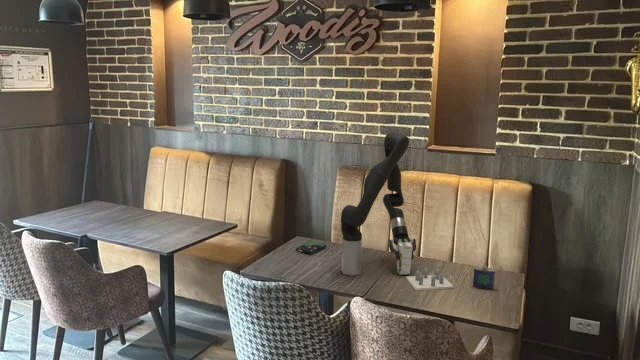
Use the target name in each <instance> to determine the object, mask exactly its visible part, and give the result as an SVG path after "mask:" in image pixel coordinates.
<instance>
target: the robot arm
mask: <svg viewBox="0 0 640 360" xmlns="http://www.w3.org/2000/svg"><path fill="white" fill-rule="evenodd" d="M383 141H384V142H383V148H384V156H385V158H384V159H383V160H382V161H380V162H378V163H376V164H375V165H374V166H373V167H372V168H371V169H370V171H369V172H368V174H367V175H366V177H365V178H364V183H363V192H362V196H361V199H360V201H359V203H358V204H357V205H356V206H354V205H353V204H347V205H346V206H344V207H343V209H342V211H341V213H340V226H341V227H340V229H341V234H342V251H341V257H340V259H341V263H340V264H341V265H340V266H341V268H340V271H341V273H342V274H343V275H345V276H351V277H352V276H358V275H359V276H360V274H361V273H362V250H363V249H362V247H363V233H362V232H361V231H360V229H359V227H361V226H363V225H364V223H365V222H366V220H367V218H368V216H369V214H370V212H371V209H372V207H373V205H374V203H375V201H376V199H377V198H378V196H379V194H380V192H381V190H382V189H383V188H384V186H385V184H386V188H387V190H388V191H390V192H395V193H386V194H384V195H383V197H382V203H383V205H384V207H385V209H386V211H387V213H388V215H389V221H390V230H391V234H392V239H388V241H387V245H388V247H389V251H390V253H393V254H394V256H395V259H396V261H397V260H400V256H399V252H398V249H399V244H398V243H400V242H407V243H410V244H411V246H412V256H411V261H413V260H414V257H415V255H414V253H415V252H416V250H417V242H416V241H417V239H416V238H413V239H412V238H410V237H409V232H408V227H407V223H406V220H405V216H404V211H403V210H402V209H401V208H400V207H402V206H403V205H404V203H405V198H404V195H403V192H402V171H401V169H400V167H399V164H398V163H399V162H400V160H401V159H402V157H403V156H404V155H405V153H406V151H407V150H408V148H409V145H410V138H409V136H407V135H405V134H401V133H398V132H393V131H390V132H388V133H386V135H385V136H384V140H383ZM398 207H399V208H398ZM394 245H395V247H394Z"/></svg>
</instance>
